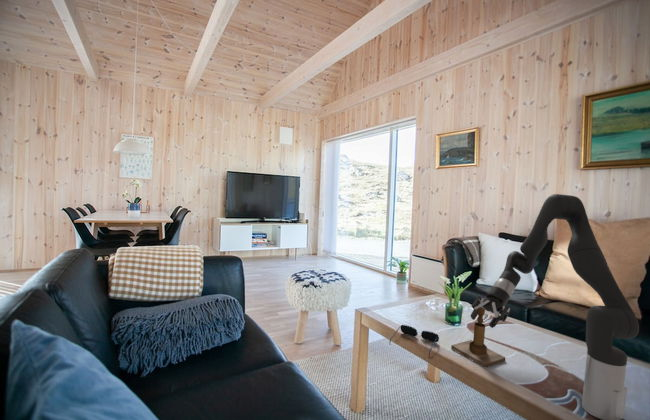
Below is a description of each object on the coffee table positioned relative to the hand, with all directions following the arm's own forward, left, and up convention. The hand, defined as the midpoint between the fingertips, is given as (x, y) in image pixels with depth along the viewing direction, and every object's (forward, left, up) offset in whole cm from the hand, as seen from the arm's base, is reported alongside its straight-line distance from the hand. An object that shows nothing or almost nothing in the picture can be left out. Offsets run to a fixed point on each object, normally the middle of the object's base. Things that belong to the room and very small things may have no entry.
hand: (481, 322), depth 135 cm
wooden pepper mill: (0, +1, -12) cm, 12 cm away
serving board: (0, +1, -13) cm, 13 cm away
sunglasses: (+18, +19, -14) cm, 29 cm away
